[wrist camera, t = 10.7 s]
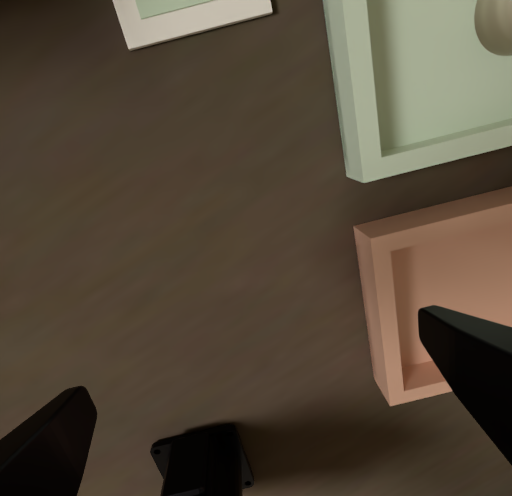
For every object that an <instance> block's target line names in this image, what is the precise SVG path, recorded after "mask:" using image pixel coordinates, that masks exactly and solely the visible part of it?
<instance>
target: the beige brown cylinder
mask: <svg viewBox="0 0 512 496" xmlns="http://www.w3.org/2000/svg"><path fill="white" fill-rule="evenodd" d="M474 24H475V30H476V34H477V37H478V39H479V41H480V43H481V44H482V45H483V46H484V48H485V49H487V50H488V51H489V52H491V53H493V54H496V55H500V56H509V55H512V0H477V3H476V7H475V14H474Z"/></svg>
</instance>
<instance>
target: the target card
mask: <svg viewBox="0 0 512 496" xmlns="http://www.w3.org/2000/svg"><path fill="white" fill-rule="evenodd" d="M112 1H113V4H114V7H115V10H116V13H117V16H118V19H119V22H120V25H121V28H122V31H123V34H124V37H125V40H126V43H127V46H128V49H129V50H130V51H132V50H136V49H140V48H144V47H147V46H151V45H155V44H159V43H163V42H167V41H170V40H174V39H178V38H182V37H186V36H190V35H193V34H197V33H201V32H205V31H209V30H213V29H216V28H220V27H224V26H228V25H232V24H236V23H239V22H243V21H247V20H251V19H255V18H259V17H262V16H266V15H270V14H272V6H271V1H270V0H112Z"/></svg>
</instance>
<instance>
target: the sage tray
mask: <svg viewBox="0 0 512 496" xmlns="http://www.w3.org/2000/svg"><path fill="white" fill-rule="evenodd" d="M476 3H477V0H323V7H324V14H325V22H326V29H327V36H328V44H329V51H330V58H331V66H332V73H333V80H334V88H335V95H336V102H337V110H338V117H339V124H340V132H341V139H342V146H343V154H344V161H345V168H346V176H347V177H349V178H352V179H354V180H357V181H360V182H362V183H366V182H370V181H374V180H378V179H382V178H386V177H390V176H394V175H398V174H402V173H406V172H409V171H413V170H417V169H421V168H425V167H429V166H433V165H437V164H441V163H445V162H449V161H453V160H457V159H461V158H465V157H469V156H473V155H477V154H481V153H485V152H489V151H493V150H497V149H501V148H505V147H508V146H512V55H509V56H500V55H496V54H493V53H491V52H489V51H488V50H487V49H485V48H484V46H483V45H482V44H481V43H480V41H479V39H478V37H477V34H476V30H475V24H474V14H475V7H476Z"/></svg>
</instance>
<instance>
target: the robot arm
mask: <svg viewBox="0 0 512 496" xmlns="http://www.w3.org/2000/svg"><path fill="white" fill-rule="evenodd" d="M418 331H419V338H420V341H421V343H422V345H423V346H424V348H425V349H426V351H427V352H428V354H429V355H430V357H431V359H432V360H433V362H434V363H435V365H436V366H437V368H438V369H439V371H440V372H441V374H442V375H443V377H444V379H445V380H446V382H447V383H448V385H449V386H450V388H451V389H452V391H453V392H454V393H455V395H456V396H457V397H458V399H459V400H460V401H461V403H462V404H463V405H464V406H465V408H466V409H467V410H468V411H469V413H470V414H471V415H472V416H473V418H474V419H475V420H476V421H477V423H478V424H479V425H480V426H481V428H482V429H483V430H484V431H485V433H486V434H487V435H488V436H489V438H490V439H491V440H492V441H493V443H494V444H495V445H496V446H497V448H498V449H499V450H500V451H501V453H502V454H503V455H504V456H505V458H506V459H507V460H508V461H509V463H510V464H511V465H512V327H509V326H506V325H503V324H499V323H496V322H492V321H489V320H485V319H482V318H478V317H475V316H471V315H468V314H464V313H461V312H458V311H454V310H451V309H447V308H444V307H440V306H437V305H431V306H427V307H422V308H420V309H419V310H418ZM96 420H97V411H96V407H95V405H94V403H93V401H92V399H91V397H90V395H89V393H88V391H87V389H86V388H85V387H84V386H77V387H73V388H69V389H66V390H65V391H63V392H62V393H61V394H59V395H58V396H57V397H55V398H54V399H53V400H51V401H50V402H49V403H48V404H46V405H45V406H44V407H42V408H41V409H40V410H38V411H37V412H36V413H35V414H33V415H32V416H31V417H29V418H28V419H27V420H25V421H24V422H23V423H22V424H20V425H19V426H18V427H16V428H15V429H14V430H12V431H11V432H10V433H9V434H7V435H6V436H5V437H3V438H2V439H1V440H0V496H77V493H78V490H79V487H80V484H81V480H82V477H83V473H84V469H85V465H86V461H87V457H88V453H89V449H90V444H91V440H92V436H93V432H94V428H95V424H96ZM150 453H151V455H152V457H153V459H154V461H155V463H156V465H157V467H158V469H159V471H160V473H161V475H162V477H163V479H164V481H163V486H162V491H161V496H242V489H245V488H249V487H252V486H253V485H254V476H253V474H252V471H251V468H250V465H249V462H248V459H247V457H246V454H245V451H244V448H243V445H242V443H241V440H240V437H239V434H238V431H237V429H236V427H235V426H234V425H225V426H221V427H217V428H213V429H209V430H204V431H200V432H196V433H192V434H188V435H184V436H180V437H176V438H172V439H168V440H163V441H159V442H156V443H154V444H153V445H152V447H151V451H150Z"/></svg>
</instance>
